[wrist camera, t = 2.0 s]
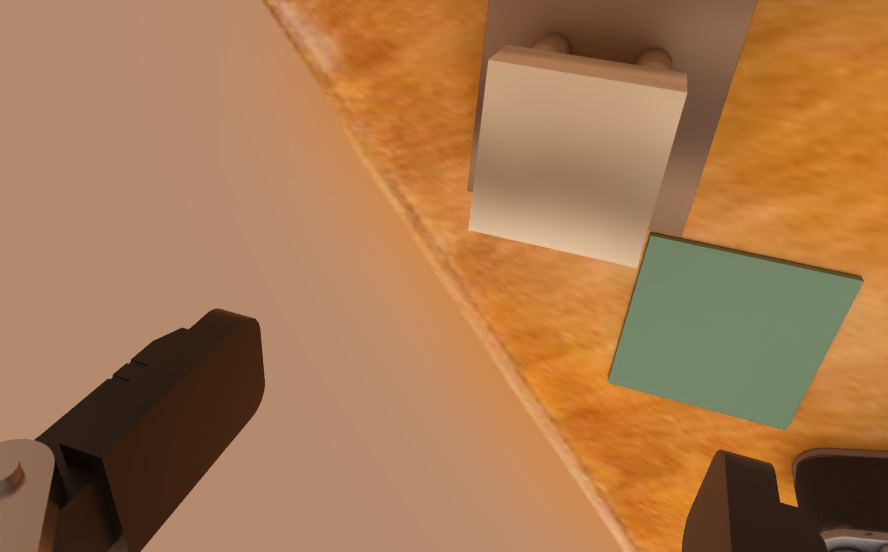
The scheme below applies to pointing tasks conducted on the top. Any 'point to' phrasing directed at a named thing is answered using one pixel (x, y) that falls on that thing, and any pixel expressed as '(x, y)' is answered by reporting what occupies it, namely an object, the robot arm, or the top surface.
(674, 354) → the pad
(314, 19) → the top surface
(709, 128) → the brown square block
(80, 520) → the robot arm
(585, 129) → the cream studded brick
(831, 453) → the camera
